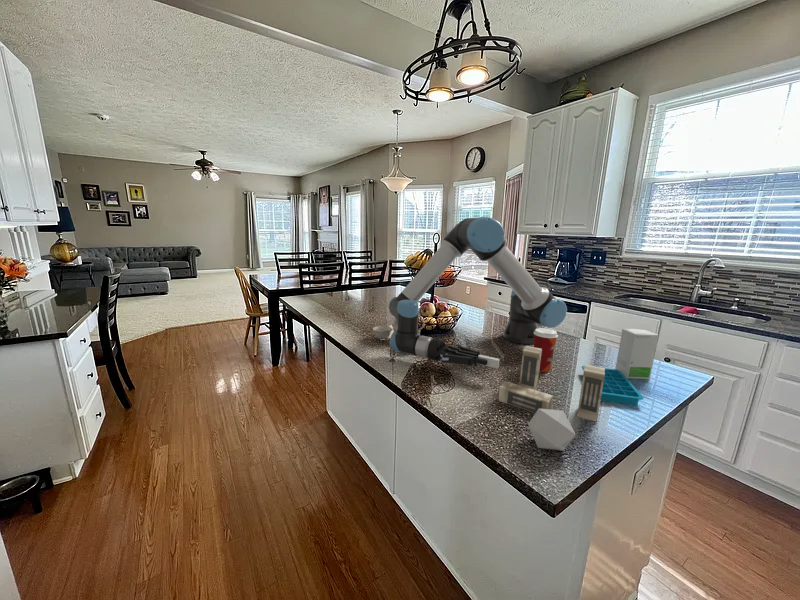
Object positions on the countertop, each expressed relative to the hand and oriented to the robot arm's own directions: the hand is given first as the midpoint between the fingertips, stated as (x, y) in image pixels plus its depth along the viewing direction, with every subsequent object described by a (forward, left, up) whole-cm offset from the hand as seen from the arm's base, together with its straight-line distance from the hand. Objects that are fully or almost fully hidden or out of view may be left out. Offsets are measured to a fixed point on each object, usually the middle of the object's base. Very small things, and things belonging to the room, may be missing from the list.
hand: (498, 363), depth 102 cm
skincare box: (-32, +37, -7) cm, 49 cm away
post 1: (-1, +9, -7) cm, 11 cm away
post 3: (+5, +25, -7) cm, 27 cm away
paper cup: (-20, +10, -7) cm, 23 cm away
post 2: (+9, +4, -5) cm, 10 cm away
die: (+24, +18, -7) cm, 31 cm away
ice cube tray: (-16, +30, -7) cm, 35 cm away
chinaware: (-15, -44, -7) cm, 47 cm away
